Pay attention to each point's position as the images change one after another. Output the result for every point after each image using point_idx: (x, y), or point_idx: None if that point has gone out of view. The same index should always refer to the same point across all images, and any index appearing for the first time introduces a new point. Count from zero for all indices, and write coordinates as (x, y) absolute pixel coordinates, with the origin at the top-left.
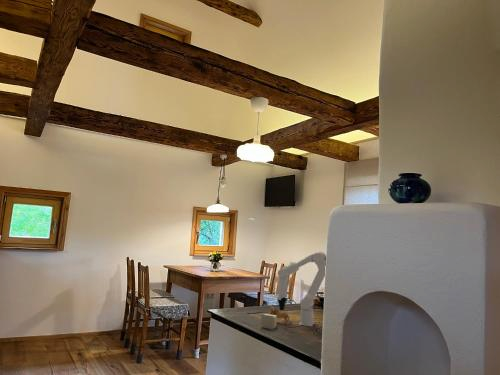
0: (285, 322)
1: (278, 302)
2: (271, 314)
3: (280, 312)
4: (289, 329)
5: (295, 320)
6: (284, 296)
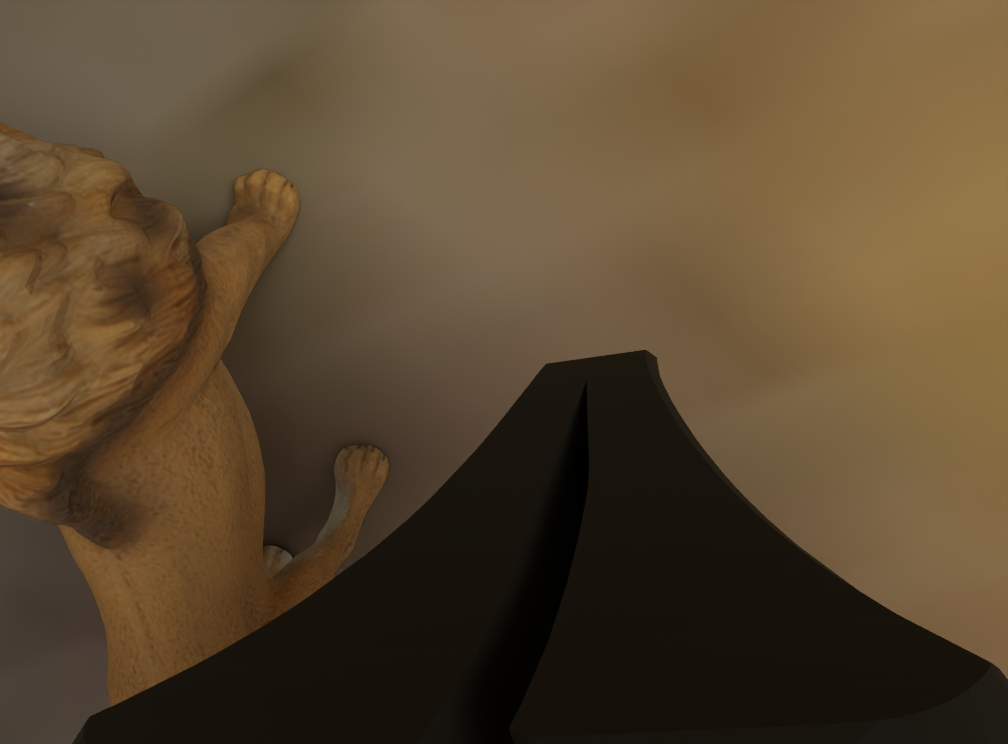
0: (333, 507)
1: (319, 589)
2: None
3: (124, 571)
4: (42, 687)
5: (896, 548)
6: None
